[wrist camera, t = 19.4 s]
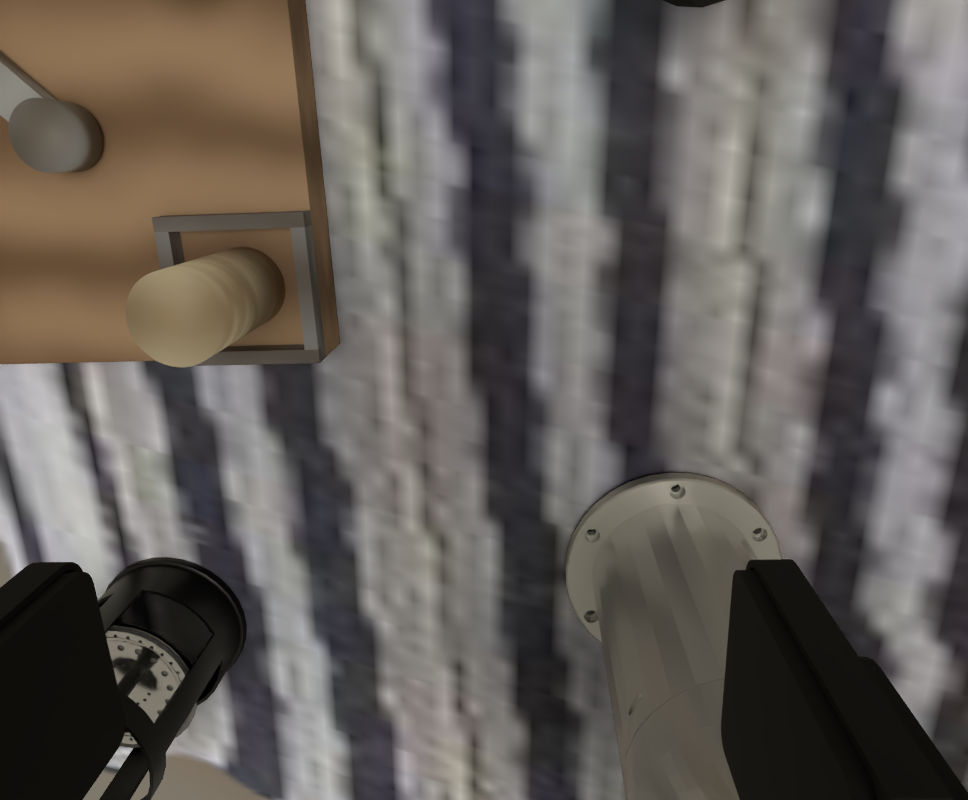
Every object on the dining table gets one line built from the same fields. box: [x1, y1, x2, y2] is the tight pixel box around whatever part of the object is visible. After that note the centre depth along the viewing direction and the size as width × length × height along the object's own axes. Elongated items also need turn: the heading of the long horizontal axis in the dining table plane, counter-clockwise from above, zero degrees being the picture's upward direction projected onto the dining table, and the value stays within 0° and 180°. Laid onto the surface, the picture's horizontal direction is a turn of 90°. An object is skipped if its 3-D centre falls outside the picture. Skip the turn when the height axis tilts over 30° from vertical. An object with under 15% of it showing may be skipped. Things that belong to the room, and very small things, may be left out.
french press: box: [98, 558, 246, 800], centre depth 36 cm, size 12×9×23 cm
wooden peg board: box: [0, 0, 340, 366], centre depth 34 cm, size 22×22×9 cm
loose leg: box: [126, 247, 285, 367], centre depth 33 cm, size 4×4×8 cm
